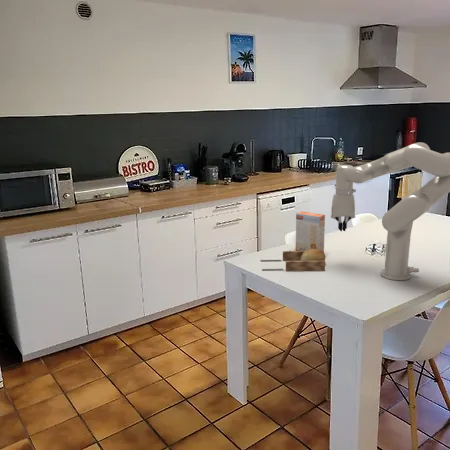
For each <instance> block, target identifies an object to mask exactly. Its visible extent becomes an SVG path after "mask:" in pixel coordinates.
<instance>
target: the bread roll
mask: <svg viewBox="0 0 450 450" xmlns="http://www.w3.org/2000/svg"><path fill="white" fill-rule="evenodd" d="M326 258H327V257H326V253H325V251H324V252H323V251H322V250H319V249H309V250H306V251H305V252H304V253H303V254H302V256H301V259H300V261H322V260H325V261H326Z"/></svg>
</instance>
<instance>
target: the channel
mask: <svg viewBox="0 0 450 450" xmlns="http://www.w3.org/2000/svg"><path fill="white" fill-rule="evenodd" d="M304 252H305V251H296V250H282V261H283V262H284V261H285V272H322V271H324V272H325V271H326V259H325V260H322V261H300V259H301V256H302V254H303V253H304Z"/></svg>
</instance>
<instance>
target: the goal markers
mask: <svg viewBox="0 0 450 450" xmlns="http://www.w3.org/2000/svg"><path fill="white" fill-rule="evenodd" d="M260 262H282V259H260ZM261 270H262V271H263V272H265V271H268V272H269V271H271V272H272V271H284V270H285V269H284V268H261Z"/></svg>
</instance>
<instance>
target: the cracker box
mask: <svg viewBox="0 0 450 450" xmlns="http://www.w3.org/2000/svg"><path fill="white" fill-rule="evenodd" d="M325 224H326V215H325V214H320V213H316V212H307V211H299V212H296V214H295V251H306V250H309V249H319V250H322V251H323V252H324V253H325V231H326V229H325V227H326V225H325Z"/></svg>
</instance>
